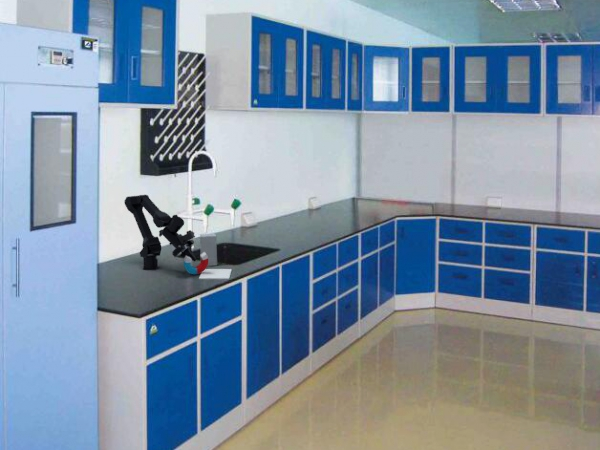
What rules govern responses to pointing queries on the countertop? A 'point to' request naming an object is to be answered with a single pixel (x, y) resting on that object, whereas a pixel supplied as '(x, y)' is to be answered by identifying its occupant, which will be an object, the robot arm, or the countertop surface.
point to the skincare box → (209, 247)
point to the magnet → (197, 269)
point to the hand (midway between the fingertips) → (195, 260)
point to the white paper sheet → (215, 274)
